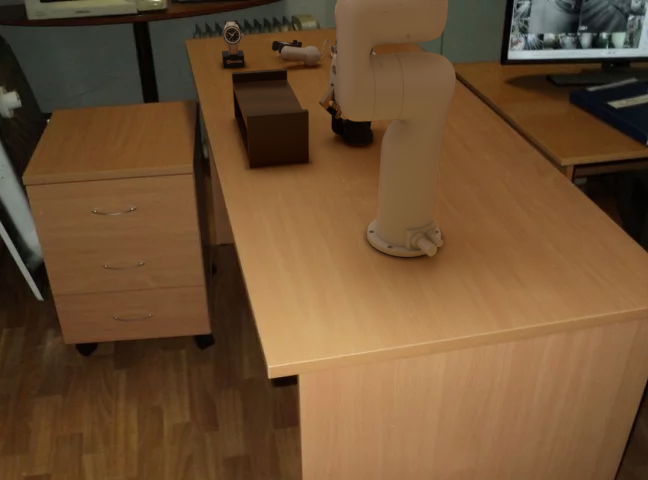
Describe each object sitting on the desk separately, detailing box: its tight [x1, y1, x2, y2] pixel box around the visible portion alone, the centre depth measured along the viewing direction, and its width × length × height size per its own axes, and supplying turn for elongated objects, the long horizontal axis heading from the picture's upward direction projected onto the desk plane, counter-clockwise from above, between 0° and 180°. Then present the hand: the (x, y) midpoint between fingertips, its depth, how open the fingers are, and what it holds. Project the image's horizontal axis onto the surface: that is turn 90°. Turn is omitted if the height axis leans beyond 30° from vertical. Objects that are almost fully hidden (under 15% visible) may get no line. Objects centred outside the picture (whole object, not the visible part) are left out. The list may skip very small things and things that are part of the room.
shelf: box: [231, 67, 310, 169], centre depth 153 cm, size 24×12×11 cm, turn 13°
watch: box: [221, 21, 246, 69], centre depth 190 cm, size 6×8×11 cm
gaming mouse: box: [340, 118, 374, 147], centre depth 158 cm, size 6×15×4 cm, turn 15°
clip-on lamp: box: [271, 38, 334, 67], centre depth 195 cm, size 12×6×18 cm
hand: (351, 129), depth 159 cm, fingers closed on gaming mouse, 6 cm apart
